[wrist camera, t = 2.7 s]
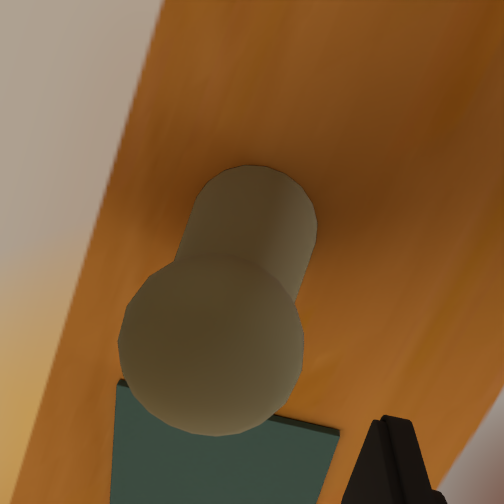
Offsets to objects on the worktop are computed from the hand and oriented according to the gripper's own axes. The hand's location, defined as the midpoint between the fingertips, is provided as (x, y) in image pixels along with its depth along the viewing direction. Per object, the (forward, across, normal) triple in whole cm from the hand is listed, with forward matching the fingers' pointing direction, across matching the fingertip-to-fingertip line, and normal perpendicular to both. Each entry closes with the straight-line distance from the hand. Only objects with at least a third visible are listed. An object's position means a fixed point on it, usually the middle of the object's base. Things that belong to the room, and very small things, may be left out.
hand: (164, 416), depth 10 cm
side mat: (+12, -1, +20) cm, 23 cm away
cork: (+12, -1, 0) cm, 12 cm away
